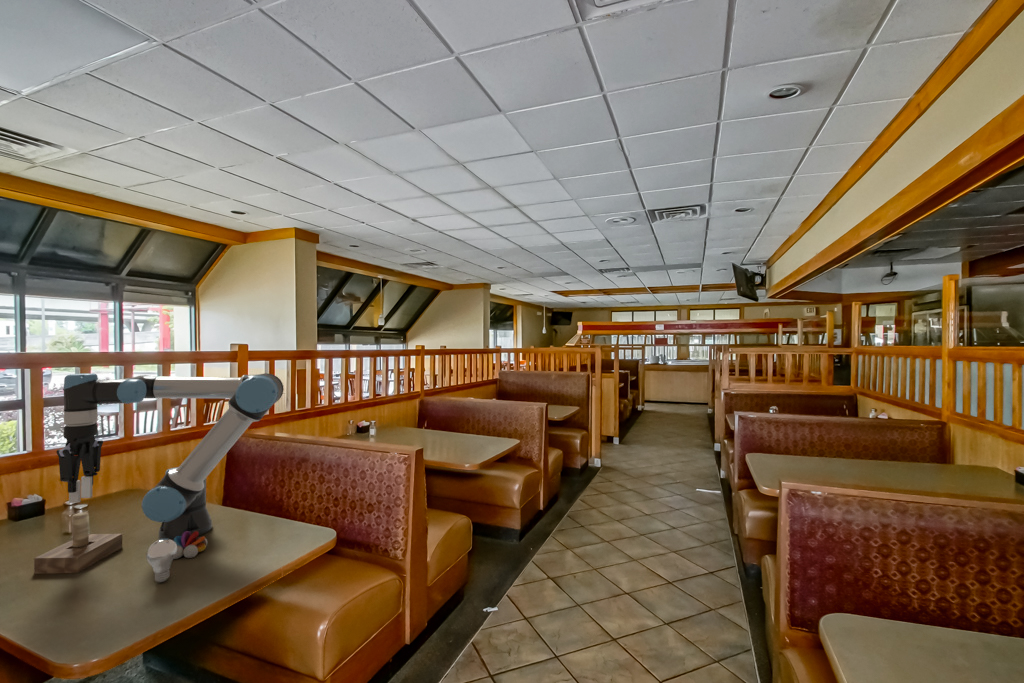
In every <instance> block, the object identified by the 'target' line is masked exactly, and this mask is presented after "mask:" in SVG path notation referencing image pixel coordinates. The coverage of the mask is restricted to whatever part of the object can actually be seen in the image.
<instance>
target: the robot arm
mask: <svg viewBox="0 0 1024 683" xmlns="http://www.w3.org/2000/svg"><path fill="white" fill-rule="evenodd" d="M63 382H64V383H63V389H62V391H63V424H64V426H63V438H64V439H66V443H65V445H64V447H63V448H61V449H57V450H56V455H57V457H58V466H59V480H60V481H61V482H64V483H67V493H68V503H69V504H72V503H74V504H75V503H76V504H77V503H81V500H82V499H91V498H93V485H94V477H96V476H97V475H98V473H99V472H100V470H101V459H102V458H101V457H102V456H101V455H102V446H103V444H104V441H103V440H97V439H96V437H95V436H96V435H98V423H97V422H98V420H99V418H98V416H99V415H98V414H99V413H98V405H105V404H107V405H108V404H110V405H111V404H113V405H114V404H126V405H129V404H136V403H141V402H143V401H144V399H229V400H228V402H227V403H228V404H227V405H228V408H227V410H226V411H225V412H224V413H223V415H222V416H221V417H220V418H219V419H218V421H216V423H215V424H214V425H213V426H212V427H211V429H210V430H209V431H208V432H207V434H205V436H203V437H202V439H201V441H199V442H198V444H196V446H195V447H194V448H193V450H192V451H191V452H190V453H189V455H188V456H186V458H185V459H184V460H183V461H182V463H181V464H180V465H179V466H177V467H171V468H168V469H166V471H165V473H164V474H165V475H164V476H163V477H162V478H161V480H160V481H158V483H157V484H156V485H155V486H154V487H152V488H151V489H150V490H148V491H147V492H146V494H145V495H144V496H143V499H142V500H141V509H142V513H143V515H144V516H146V518H147V519H149V520H150V521H153V522H157V523H161V524H160V528H159V530H158V540H160V539H164V538H167V539H171V540H173V541H174V538H175V537H177V536H182V534H183V533H184V532H185V531H189V532H190V533H191V535H192V534H193V533H194V532H195V531H198V532H199V534H198V537H201V536H203V535H204V534H207V533H208V532H209V531H211V529H212V528H213V522H212V518H211V516H210V513H209V511H208V508H207V477H208V476H209V475H210V473H212V471H213V470H214V469H215V467H217V465H218V464H219V463H220V461H222V459H223V458H224V457H225V455H226V454H227V453H229V450H231V448H232V447H233V446H234V445H235V444H236V442H238V440H239V439H240V437H242V435H243V434H244V433H245V432H246V430H247V429H248V428H249V427H250V426H251V424H253V423H254V422H259V421H261V420H262V419H263V417H264V416H265V415H266V414H267V413H268V412H269V411H270V409H271V408H272V406H274V404H276V403H277V402H279V400H280V399H281V398H282V396H283V393H284V390H285V389H284V384H283V382H282V380H281V379H280V377H278V376H277V375H274V374H272V373H267V372H266V373H259V374H243V375H242V376H241V377H226V376H224V377H223V376H221V377H220V376H218V377H217V376H213V377H211V376H210V377H209V376H151V375H146V374H145V375H136V376H132V377H127V378H121V379H99V377H98V374H97V373H71V374H67V375H65V377H64V380H63ZM81 466H82V473H83V476H81V477H80V479H79V475H80V468H81Z"/></svg>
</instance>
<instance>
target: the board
mask: <svg viewBox="0 0 1024 683" xmlns="http://www.w3.org/2000/svg"><path fill="white" fill-rule="evenodd" d="M122 548H123V533H89V545H88V546H86V547H84V548H82V549H72V539H71V540H69V541H67V542H65V543H63V544H61V545H59V546H57V547H55V548H53V549H50V550H48V551H46V552H45V553H43V554H40V555H37V556H36V557H34V558H33V560H34V561H33V565H34V566H33V567H34V568H33V573H34V575H35V574H36V575H37V574H41V575H43V574H44V575H45V574H77V573H79V572H81V571H84V570H85V569H87V568H90V566H92V565H94V564H95V563H97V562H99V561H101V560H103V559H104V558H106V557H108V556H110V555H111V554H114V553H115V552H116V551H117V552H118V551H119V550H120V549H122Z"/></svg>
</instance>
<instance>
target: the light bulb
mask: <svg viewBox="0 0 1024 683" xmlns="http://www.w3.org/2000/svg"><path fill="white" fill-rule="evenodd" d="M177 550H178V548H177V544H176V543H175V542H174V541H173V540H171V539H167V538H164V539H157V540H156V541H154V542H153V543H152V544H151V545H149V547H148V549H147V551H146V555H145V556H146V560H147V562H148V564H150V566H151V567H152V569H153V573H154V581H155V582H157V583H159V584H162V583H165V581H168V580H167V579H168V578H170V569H171V566H172V562H173V561H174V560H175V559H174V558H175V556H176V554H177Z"/></svg>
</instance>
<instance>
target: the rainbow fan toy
mask: <svg viewBox="0 0 1024 683" xmlns="http://www.w3.org/2000/svg"><path fill="white" fill-rule="evenodd" d="M198 534H199V532H198V531H195V532H194V533H193V534H192V535H191V533H190V532H189V531H185V532H184V533H183V534H182V536H177V537H175V538H174V542H175V543H176V544H177V548H178V550H177V554H176V556H175V558H174V559H173V560H178V559H180V558H182V557H183V556H184V557H185V558H186V559H192V558H195V557H196V556H197V555H198V553H200V552H203V551H205V550H206V548H207V546H208V539H207V538H206V536H204V535H202V536H198Z"/></svg>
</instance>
